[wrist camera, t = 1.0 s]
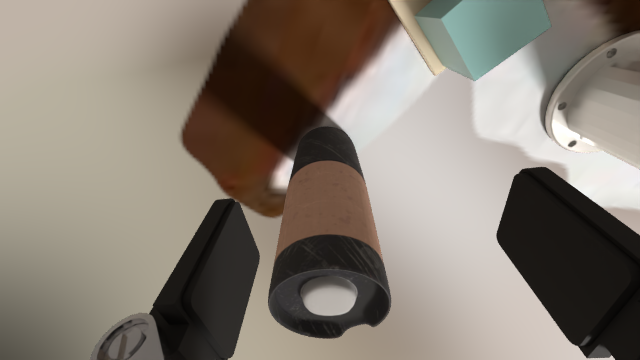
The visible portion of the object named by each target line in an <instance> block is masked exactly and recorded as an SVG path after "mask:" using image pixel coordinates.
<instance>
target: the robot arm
mask: <svg viewBox="0 0 640 360" xmlns="http://www.w3.org/2000/svg"><path fill="white" fill-rule="evenodd" d="M545 124H546V129H547V133H548V135H549V136H550V138H551V139H552V141H554V142H555V143H556V144H558V145H559V146H561V147H563V148H564V149H566V150H569V151H573V152H578V153H590V152H598V151H604V152H606V153H608V154H610V155H612V156H614V157H616V158H618V159H620V160H622V161H624V162H626V163H628V164H630V165H632V166H634V167H636V168H638V169H639V170H640V30H639V31H634V32H631V33H627V34H624V35H621V36H619V37H617V38H614V39H612V40H610V41H608V42H606V43H604V44H603V45H601V46H600V47H598V48H596V49H595V50H593V51H592V52H590V53H589V54H588V55H587V56H585V57H584V58H583V59H582V60H580V61H579V62H578V63H577V64H576V65H575V66H574V67H573V68H572V69H571V70H570V71H569V72H568V73H567V74H566V76H565V77H564V78H563V79H562V81H561V82H560V83H559V85H558V86H557V88H556V90H555V91H554V93H553V95H552V96H551V99H550V102H549V104H548V107H547V111H546V116H545ZM497 240H498V243H499V245H500V246H501V247H502V249H503V250H504V252H505V253H506V254H507V256H508V257H509V259H510V260H511V261H512V263H513V264H514V265H515V267H516V268H517V270H518V271H519V272H520V274H521V275H522V276H523V278H524V279H525V281H526V282H527V283H528V285H529V286H530V288H531V289H532V290H533V292H534V293H535V295H536V296H537V297H538V299H539V300H540V301H541V303H542V304H543V306H544V307H545V308H546V310H547V311H548V312H549V314H550V315H551V317H552V318H553V320H554V321H555V322H556V324H557V325H558V326H559V328H560V329H561V331H562V332H563V333H564V335H565V336H566V338H567V339H568V340H569V341H570V342H571V343H572V344H574V345H576V346H578V347H579V348H580V350H581V351H582V352H583V354H584V355H585V356H586V358H609V357H610V356H611V355H612V356H613V357H614V358H615V360H640V235H639V234H637V233H636V232H634V231H633V230H631V229H630V228H629V227H628V226H626V225H625V224H623V223H622V222H621V221H619V220H618V219H617V218H615V217H614V216H613V215H611V214H610V213H608V212H607V211H606V210H604V209H603V208H602V207H600V206H599V205H598V204H596V203H595V202H593V201H592V200H591V199H589V198H588V197H587V196H585V195H584V194H582V193H581V192H580V191H578V190H577V189H576V188H574V187H573V186H572V185H570V184H569V183H567V182H566V181H565V180H563V179H562V178H560V177H559V176H558V175H556V174H555V173H554V172H552V171H551V170H549V169H548V168H546V167H536V168H526V169H522V170H521V171H520V172H519V174H516V175H515V176H514V179H513V182H512V185H511V188H510V192H509V195H508V198H507V201H506V205H505V208H504V211H503V214H502V218H501V221H500V224H499V228H498V231H497ZM259 257H260V255H259V251H258V249H257V246H256V243H255V241H254V238H253V236H252V234H251V231H250V228H249V226H248V223H247V221H246V218H245V216H244V213H243V211H242V208H241V205H240V203H239V202H235V201H234V200H233V199H232V198H230V199H221V200H216V201H215V202H214V203H213V205H212V206H211V208H210V210H209V211H208V213H207V215H206V216H205V218H204V220H203V221H202V223H201V225H200V227H199V228H198V230H197V232H196V233H195V235H194V237H193V238H192V240H191V242H190V243H189V245H188V247H187V248H186V250H185V252H184V253H183V255H182V257H181V258H180V260H179V262H178V263H177V265H176V267H175V268H174V270H173V272H172V274H171V275H170V277H169V279H168V281H167V282H166V284H165V285H164V287H163V289H162V290H161V292H160V294H159V296H158V297H157V299H156V300H155V302H154V304H153V308H152V310H151V312H150V313H149V314H148V313H138V314H134V315H130V316H128V317H126V318H124V319H122V320H121V321H119V322H118V323H116V324H115V325H114V326H112V327H111V328H110V329H109V330H108V331H107V332H106V333H105V334H104V335H103V336H102V338H101V339H100V340H99V342H98V343H97V344H96V346H95V348H94V350H93V352H92V354H91V357H90V360H228V358H231V357H232V356H233V354H234V351H235V348H236V344H237V340H238V337H239V333H240V329H241V326H242V322H243V319H244V315H245V311H246V307H247V304H248V301H249V297H250V293H251V289H252V286H253V282H254V279H255V275H256V271H257V268H258V264H259V259H260V258H259Z"/></svg>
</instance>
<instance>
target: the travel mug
mask: <svg viewBox="0 0 640 360" xmlns="http://www.w3.org/2000/svg"><path fill="white" fill-rule="evenodd" d="M268 306H269V310H270V312H271V314H272V316H273V317H274V319H275V320H276V321H277V322H278V323H280V324H281V325H282V326H284V327H285V328H287V329H289V330H291V331H293V332H296V333H298V334H301V335H305V336H309V337H315V338H327V339H328V338H329V339H330V338H338V337H340V336H342V335H343V333H344V332H345V331H346V330H347V329H349V328H351V327H354V326H357V325H361V324H368V325H370V326H372V327H375V326H377V325H378V324H380V323H381V322H382V321H383V320H384V319H385V318H386V316H387V315H388V313H389V311H390V307H391V295H390V289H389V285H388V280H387V276H386V272H385V267H384V263H383V259H382V254H381V250H380V245H379V240H378V236H377V231H376V227H375V223H374V218H373V214H372V209H371V205H370V200H369V196H368V192H367V187H366V183H365V180H364V177H363V173H362V170H361V167H360V163H359V160H358V157H357V153H356V150H355V147H354V144H353V142H352V140H351V139H350V137H349V136H348V135H347V134H345V133H344V132H343V131H341V130H339V129H336V128H333V127H320V128H317V129H314V130H312V131H310V132H309V133H307V134H306V135H305V136H304V137H303V138H302V140H301V142H300V144H299V146H298V150H297V153H296V157H295V161H294V165H293V169H292V173H291V177H290V181H289V185H288V189H287V195H286V200H285V206H284V212H283V217H282V223H281V228H280V234H279V239H278V245H277V251H276V256H275V262H274V267H273V273H272V278H271V284H270V289H269V297H268Z"/></svg>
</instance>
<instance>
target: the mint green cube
mask: <svg viewBox="0 0 640 360" xmlns="http://www.w3.org/2000/svg"><path fill="white" fill-rule="evenodd" d="M414 17H415V19H416V21H417V22H418V24H419V26H420V27H421V29H422V31H423V33H424V34H425V36H426V38H427V39H428V41H429V43H430V44H431V46H432V48H433V50H434V51H435V53H436V55H437V56H438V58H439V60H440V61H441V63H442V65H443V66H444V67H446V68H448V69H450V70H453V71H455V72H457V73H459V74H461V75H463V76H465V77H467V78H469V79H471V80H473V81H476V80H478V79H479V78H480V77H482V76H483V75H485V74H486V73H487V72H489V71H490V70H492V69H493V68H494V67H496V66H497V65H499V64H500V63H501V62H503V61H504V60H506V59H507V58H508V57H510V56H511V55H513V54H514V53H515V52H517V51H518V50H520V49H521V48H522V47H524V46H525V45H527V44H528V43H529V42H531V41H532V40H534V39H535V38H536V37H538V36H539V35H541V34H542V33H543V32H545V31H546V30H548V29H549V28H550V27H552V26H551V23H550V20H549V18H548V15H547V12H546V9H545V6H544V3H543V1H542V0H432V1H431V2H430V3H428V4H427V5H426V6H425V7H424V8H423V9H422V10H421V11H419V12H418V13H417V14H416V15H415V16H414Z"/></svg>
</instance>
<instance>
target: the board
mask: <svg viewBox="0 0 640 360" xmlns="http://www.w3.org/2000/svg"><path fill="white" fill-rule="evenodd" d="M431 1H432V0H388V2H389V3H390V5H391V7H392V8H393V10H394V11H395V13H396V15H397V16H398V18H399V20H400V21H401V23H402V24H403V26H404V28H405V29H406V31H407V32H408V34H409V36H410V37H411V39H412V41H413V42H414V44H415V45H416V47H417V49H418V50H419V52H420V54H421V55H422V57H423V58H424V60H425V62H426V63H427V65H428V67H429V68H430V70H431V71H432V73H433V74H434V75H435V76H437V75H438V74H439V73H441V72H442V71H443V70H445V69H446V67H444V66H443V65H442V63H441V61H440V60H439V58H438V56H437V55H436V53H435V51H434V50H433V48H432V46H431V44H430V43H429V41H428V39H427V38H426V36H425V34H424V33H423V31H422V29H421V27H420V26H419V24H418V22H417V21H416V19H415V17H414V16H415V15H416V14H417V13H418V12H419V11H421V10H422V9H423V8H424V7H425V6H426V5H427V4H428V3H430V2H431Z"/></svg>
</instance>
